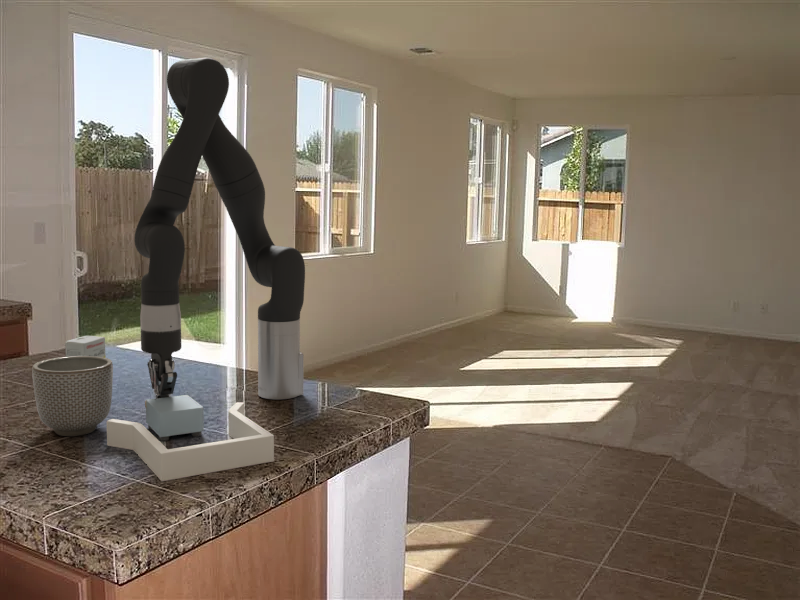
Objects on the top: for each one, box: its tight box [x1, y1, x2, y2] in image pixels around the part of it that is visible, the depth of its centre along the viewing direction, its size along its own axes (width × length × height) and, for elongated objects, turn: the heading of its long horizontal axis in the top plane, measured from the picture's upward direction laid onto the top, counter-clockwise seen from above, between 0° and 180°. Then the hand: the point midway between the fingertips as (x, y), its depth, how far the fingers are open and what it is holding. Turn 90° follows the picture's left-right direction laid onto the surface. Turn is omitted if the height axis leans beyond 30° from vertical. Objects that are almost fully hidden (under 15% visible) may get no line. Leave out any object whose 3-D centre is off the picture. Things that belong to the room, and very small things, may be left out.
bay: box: [106, 401, 275, 482], centre depth 139 cm, size 26×23×4 cm
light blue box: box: [144, 394, 205, 442], centre depth 149 cm, size 8×10×6 cm
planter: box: [31, 356, 114, 437], centre depth 148 cm, size 14×14×13 cm
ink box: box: [64, 335, 107, 358], centre depth 177 cm, size 9×5×12 cm, turn 168°
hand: (162, 413), depth 156 cm, fingers closed
